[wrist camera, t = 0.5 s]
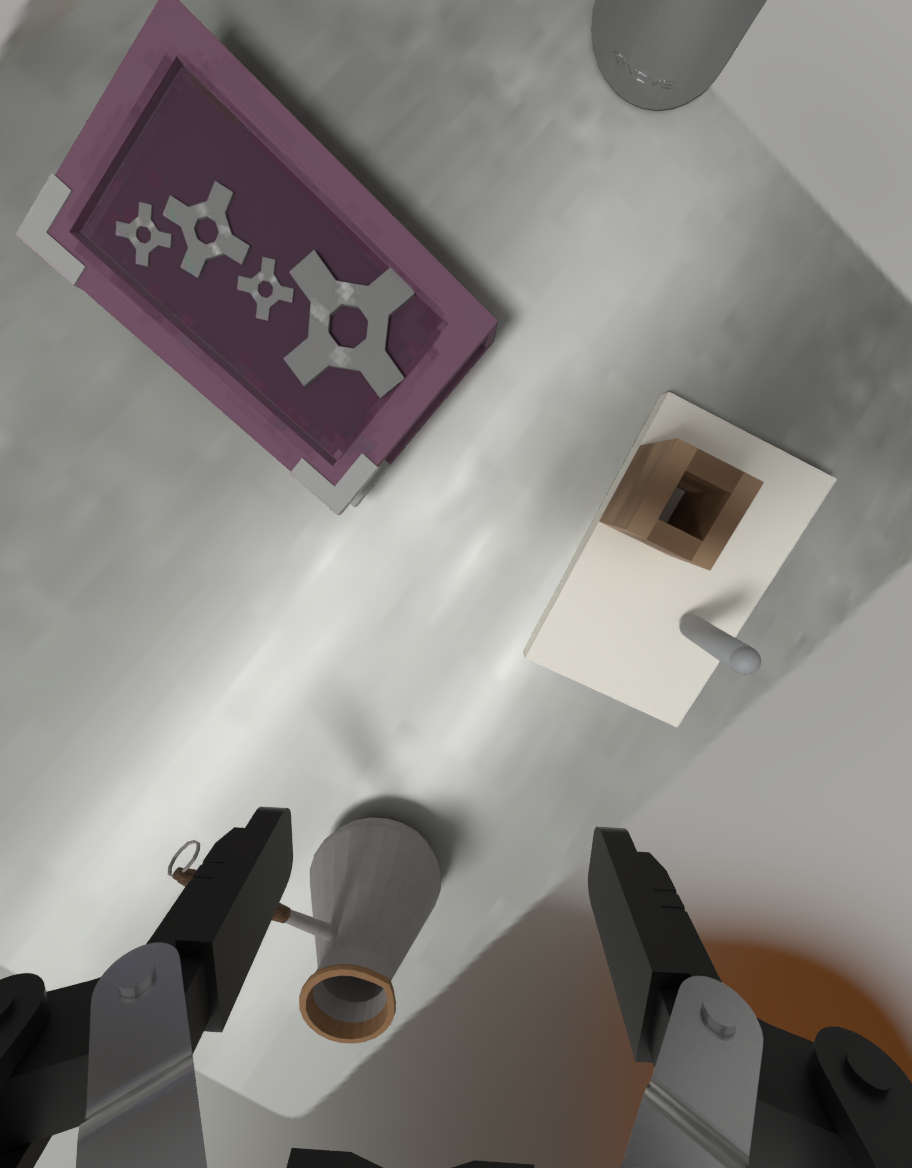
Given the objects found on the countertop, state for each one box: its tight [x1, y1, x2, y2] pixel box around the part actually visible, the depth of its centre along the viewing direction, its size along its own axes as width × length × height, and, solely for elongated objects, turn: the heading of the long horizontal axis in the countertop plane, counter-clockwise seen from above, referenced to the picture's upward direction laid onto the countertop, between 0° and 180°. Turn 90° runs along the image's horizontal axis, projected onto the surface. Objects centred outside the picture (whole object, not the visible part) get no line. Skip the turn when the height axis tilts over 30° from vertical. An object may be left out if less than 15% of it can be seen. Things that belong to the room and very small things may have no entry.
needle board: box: [523, 392, 837, 727], centre depth 32 cm, size 22×14×10 cm, turn 155°
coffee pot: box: [168, 817, 441, 1043], centre depth 35 cm, size 21×12×15 cm, turn 34°
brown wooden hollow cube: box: [599, 438, 764, 571], centre depth 31 cm, size 6×6×6 cm
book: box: [16, 0, 498, 515], centre depth 31 cm, size 25×16×5 cm, turn 48°
